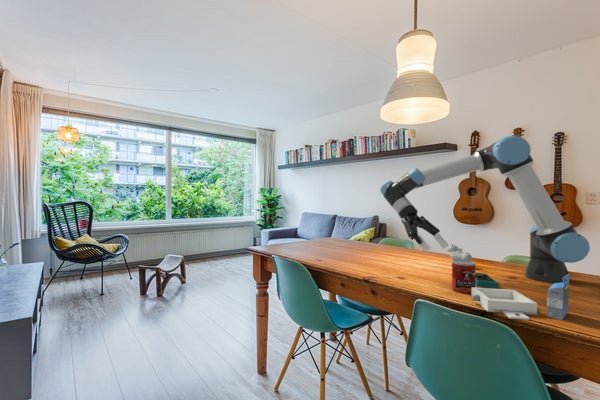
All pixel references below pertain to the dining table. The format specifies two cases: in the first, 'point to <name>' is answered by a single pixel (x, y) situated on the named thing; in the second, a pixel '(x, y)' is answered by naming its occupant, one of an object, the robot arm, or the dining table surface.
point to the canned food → (463, 276)
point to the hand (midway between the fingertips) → (437, 248)
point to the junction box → (505, 302)
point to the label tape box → (558, 299)
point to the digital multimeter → (485, 281)
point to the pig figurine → (458, 253)
